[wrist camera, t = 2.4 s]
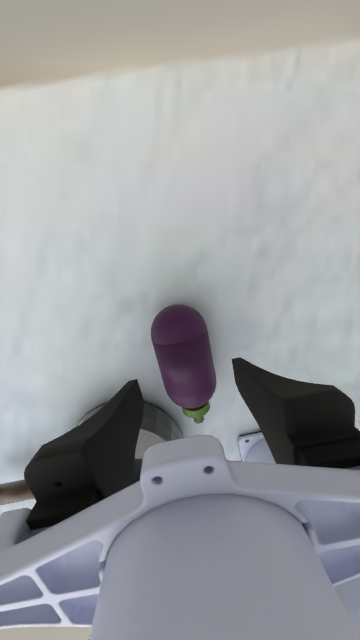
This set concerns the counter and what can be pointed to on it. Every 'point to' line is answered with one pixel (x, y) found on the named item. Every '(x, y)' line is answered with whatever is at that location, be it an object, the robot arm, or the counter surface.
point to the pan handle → (14, 492)
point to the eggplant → (185, 359)
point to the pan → (148, 433)
